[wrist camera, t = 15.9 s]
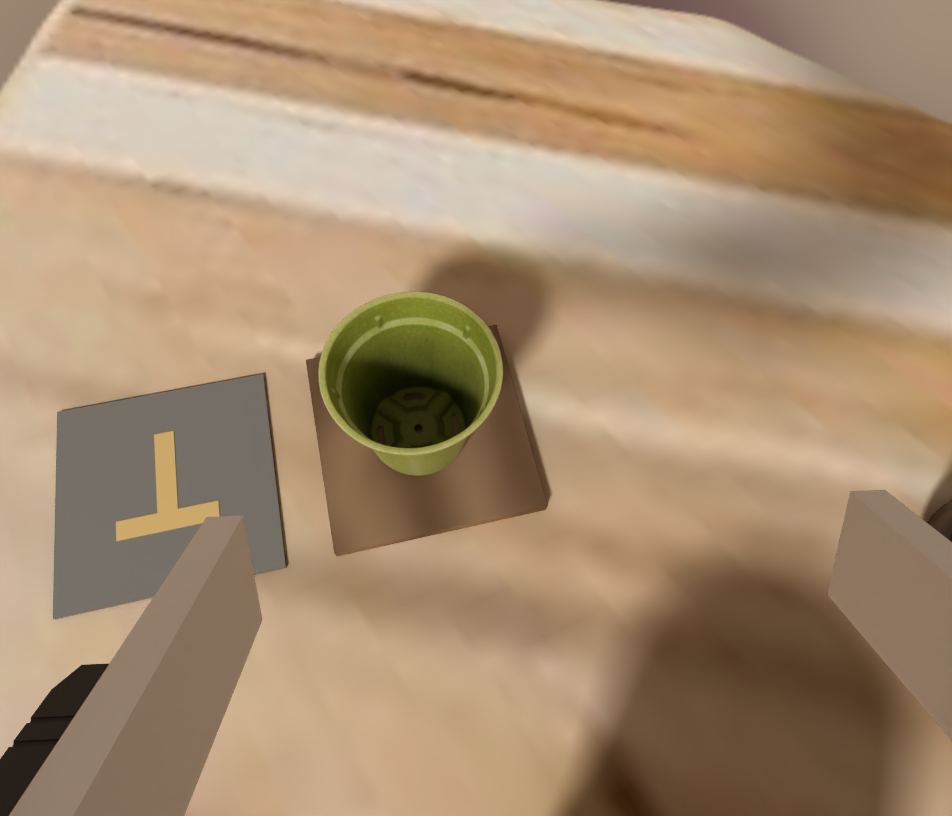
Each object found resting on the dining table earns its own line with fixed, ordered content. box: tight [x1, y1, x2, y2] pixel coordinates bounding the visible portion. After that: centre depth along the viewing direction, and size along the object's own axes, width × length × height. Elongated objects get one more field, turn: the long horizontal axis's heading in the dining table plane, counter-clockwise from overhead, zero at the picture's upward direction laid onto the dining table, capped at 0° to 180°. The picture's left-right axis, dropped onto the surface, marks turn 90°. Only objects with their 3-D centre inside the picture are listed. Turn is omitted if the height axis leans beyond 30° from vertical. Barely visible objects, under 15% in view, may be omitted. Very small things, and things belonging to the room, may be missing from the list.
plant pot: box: [318, 292, 503, 476], centre depth 37 cm, size 9×9×9 cm
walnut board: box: [306, 325, 548, 556], centre depth 41 cm, size 13×13×1 cm
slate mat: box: [53, 374, 286, 619], centre depth 40 cm, size 13×13×1 cm
